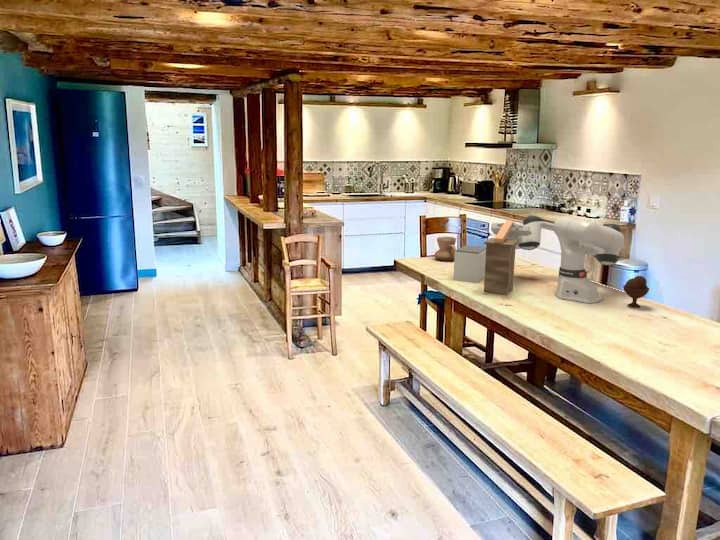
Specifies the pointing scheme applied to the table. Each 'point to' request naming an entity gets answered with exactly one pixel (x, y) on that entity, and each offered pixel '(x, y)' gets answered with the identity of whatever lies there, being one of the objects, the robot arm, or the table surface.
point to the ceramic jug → (446, 248)
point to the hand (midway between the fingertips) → (508, 223)
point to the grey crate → (470, 263)
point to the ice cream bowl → (636, 289)
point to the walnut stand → (499, 266)
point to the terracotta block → (503, 232)
